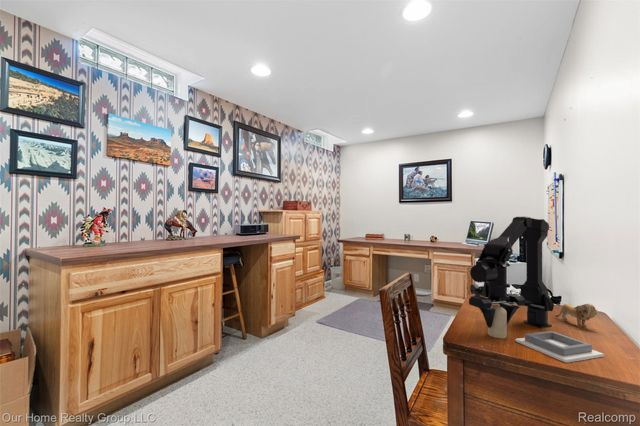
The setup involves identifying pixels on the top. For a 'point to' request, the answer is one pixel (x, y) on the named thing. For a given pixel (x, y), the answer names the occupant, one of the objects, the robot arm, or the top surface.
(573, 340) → the candle tray
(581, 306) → the lion figurine
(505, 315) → the candle
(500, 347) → the top surface
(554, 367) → the top surface
